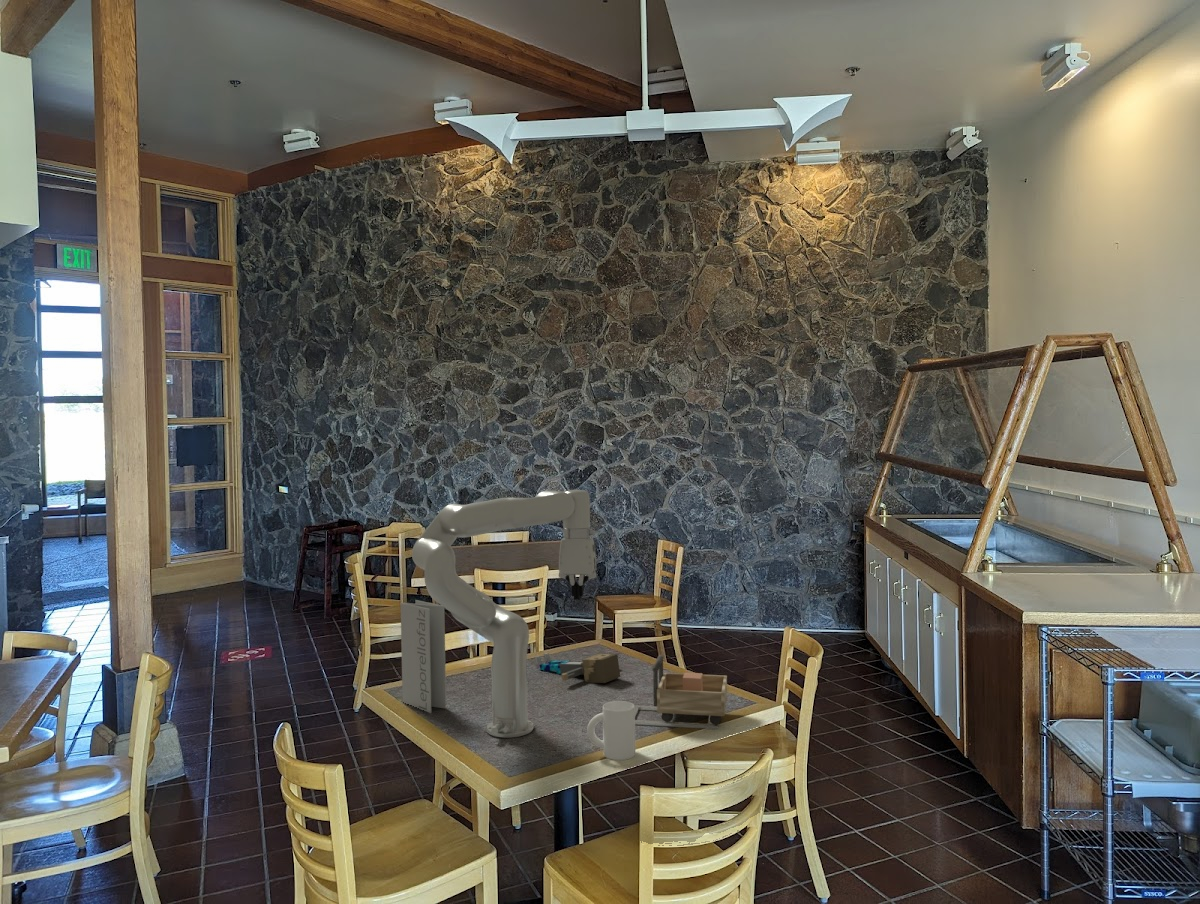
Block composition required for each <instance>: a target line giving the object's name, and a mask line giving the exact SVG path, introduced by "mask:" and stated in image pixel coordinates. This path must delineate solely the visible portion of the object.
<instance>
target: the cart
mask: <svg viewBox="0 0 1200 904" xmlns="http://www.w3.org/2000/svg"><path fill="white" fill-rule="evenodd" d="M664 658H665V657H664V655H663V654H659V655H658V656H657V658H656V660H655V662H654V664H653V667H652V668H651V669H652V675H653V677H652V681H653V684H652V685H653V686H652V687H653V691H652V692H653V706H655V707H657V711H656V713H657V714H661V719H662V721H665V722H672V720H673V717H674V715H676V714H677V715H692V716H708V717H709V716H710V722H711V723H712V724H714V725H718V726H719V724H720V723H721V721H722V717H725V716H726V708H727V702H728V675H717V674H703V691H689V690H683V676H684V673H674V672H673V673H671V672H664Z"/></svg>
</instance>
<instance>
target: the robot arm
mask: <svg viewBox="0 0 1200 904" xmlns="http://www.w3.org/2000/svg"><path fill="white" fill-rule="evenodd" d="M590 500H591V499H590V493H589V492H588V491H587V490H585V489H571V490H570V489H569V490H566V491H562V490H561V491H560V490H550V489H549V490H542V491H540V492H539V493H538V494H536V496H535V497H500V498H495V499H494V498H493V499H490V500H489V499H488V500H483V501H477V502H472V503H469V504H459V503H451V504H448V505H446V506H444V507H443V508H442V509H441V510H440V511H439V512H438V514H436V516H435V517H434V518H433V520H432V521H431V522H430V523H429V525H428V526H427V527H426V529H425V530H424V531H423V532H422V534H421V535H419V538H417V540H416V541H415V543H414V544H413V547H412V551H411V557H412V558H411V559H412V560H413V563H414V564H415V565H416V566H417V567H418V568H419V569H420V570H423V571H424V584H425V588H426V591H427V592H428V594H429V596H430V598H432V599H433V600H434V602H435V603H437V604H438V605H442V606H443V607H444V609H446V610H447V611H448V612H449V613H450V614H451V615H452V617H453V618H454V619H455V620H456V621H457V622H459V623H460V624H462V625H463V626H465V627H467V628H468V629H470V630H471V631H473V632H474V633H475V634H477V635H479V636H481V637H483V638H484V639H485V640H487V641H489V642H490V643H492V644H493V650H492V655H491V664H490V665H491V666H490V667H491V668H490V669H491V671H490V672H491V673H490V674H491V710H492V711H491V712H492V713H491V715H492V721H491V722H489V723H487V725H486V732H487V733H488V734H489V735H490V736H492V737H496V738H505V739H508V738H509V739H510V738H511V739H512V738H520V737H521V736H526V735H528V734H530V733H531V732H533V730H534V725H535V724H534V723H533V722H532V721H531V720H529V718H528V709H529V708H528V707H529V706H528V668H527V667H528V665H527V663H528V646H529V641H530V630H529V625H528V623H527V622H526V620H525V618H523V617H521V616H520V615H519V614H517V613H515V612H513V611H510V610H507V609H506V608H503V607H502V606H500V605H498V604H497V603H495V601H493V599H492V598H491V597H490V595H488V594H486V592H483V591H482V590H481V591H480V590H479V589H477V588H475V587H474V586H472V585H471V584H470V583H468V582H467V581H466V580H464V579H463V578H462V577H460V576H459V575H458V574H457V570H456V554H455V551H454V548H452V545H453V544H454V542H455V541H456V540H457V538H470V537H475V536H480V535H481V536H482V535H487V534H490V533H494V532H500V531H505V530H511V529H513V530H514V529H520V528H526V527H533V526H540V525H546V524H552V523H556V522H560V521H562V522H563V523H562V525H563V531H562V533H563V538H561V540H560V543H559V544H560V545H559V554H558V578H561V579H564V580H566V581H567V582H568V583H569V584H570V586H571V597H573V600H574V601H576V600H578V601H580V600H582V597H584V584H585V583H586V582H587V581H588V580H592V579H593V580H594V579H597V573H596V571H597V556H596V555H597V554H596V547H595V541H594V538H593V537H592V538H591V536H594V535H596V530H594V529H592V528H591V508H590V505H591V504H590ZM577 575H578V576H579V577H578V581H577Z"/></svg>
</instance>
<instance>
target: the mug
mask: <svg viewBox="0 0 1200 904" xmlns="http://www.w3.org/2000/svg"><path fill="white" fill-rule="evenodd" d="M634 705H635V704H634V703H632V702H630V701H628V700H627V701H626V700H614V701H613V700H611V701H608V702H607V701H606V702H605V703H604V704H603V705H602V712H600V713H598V714H596V715H594V716H593V717H592V718H591V719H590V720H589V722H588V724H587V726H586V727H587V728H586V734H587V737H588V739H589V741H590V742H591V743H592V744H593V746H596V747H597V748H600V749H602V751H603V753H602V754H603V756H604V757H605V758H606V759H609V760H612V761H613V760H614V761H624V760H625V761H626V760H629V759H632V758H634V757H635V756H636V725H635V720H636V717H635V706H634ZM601 721H602V739H600V738H599V737H598V735H596V732H595V730H596V729H595V728H596V727H597V725H598V723H601Z"/></svg>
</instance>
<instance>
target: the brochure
mask: <svg viewBox="0 0 1200 904" xmlns="http://www.w3.org/2000/svg"><path fill="white" fill-rule="evenodd" d="M445 623H446V622H445V608H444V607H443V606H442V605H440V604H438V603H437V604H436V603H432V602H426V601H423V600H420V599H419V600H418V599H415V603H412V602H411V603H410V602H400V629H401V630H400V638H401V639H400V640H401V642H400V644H401V646H400V647H401V681H402V682H401V683H402V684H401V685H402V687H401V688H402V693H401V695H402V703H403V702H404V703H403V704H405V703H406V704H405V705H407V704H409V705H408V706H410V705H412V706H411V707H413V706H414V707H413V708H415V707H417V708H416V709H418V708H419V709H418V710H421V711H423V710H424V712H427V713H429V714H432V708H439V709H440V708H441V709H447V678H446V677H447V676H446V675H447V673H446V631H445V629H446V626H445V625H446V624H445Z"/></svg>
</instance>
